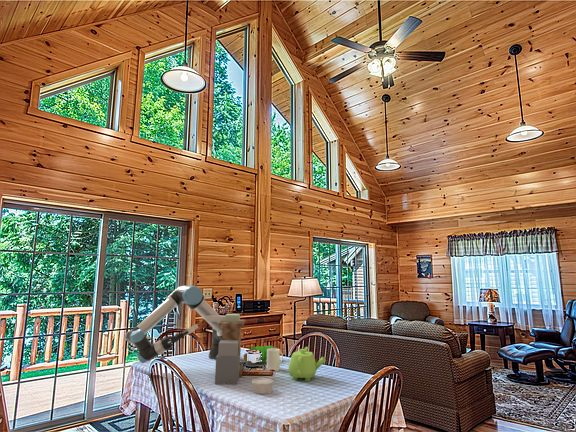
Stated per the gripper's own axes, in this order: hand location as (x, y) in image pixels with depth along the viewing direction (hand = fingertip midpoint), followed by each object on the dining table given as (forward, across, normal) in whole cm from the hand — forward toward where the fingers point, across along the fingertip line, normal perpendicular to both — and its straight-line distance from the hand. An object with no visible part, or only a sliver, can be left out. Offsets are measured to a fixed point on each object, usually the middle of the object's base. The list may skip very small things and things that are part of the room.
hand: (195, 327), depth 228 cm
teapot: (+45, +9, -57) cm, 73 cm away
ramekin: (+23, +36, -44) cm, 61 cm away
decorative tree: (+23, -30, -44) cm, 58 cm away
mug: (+29, -10, -47) cm, 57 cm away
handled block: (+16, 0, -5) cm, 17 cm away
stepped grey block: (+6, +18, -34) cm, 39 cm away
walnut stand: (+6, 0, -34) cm, 34 cm away
